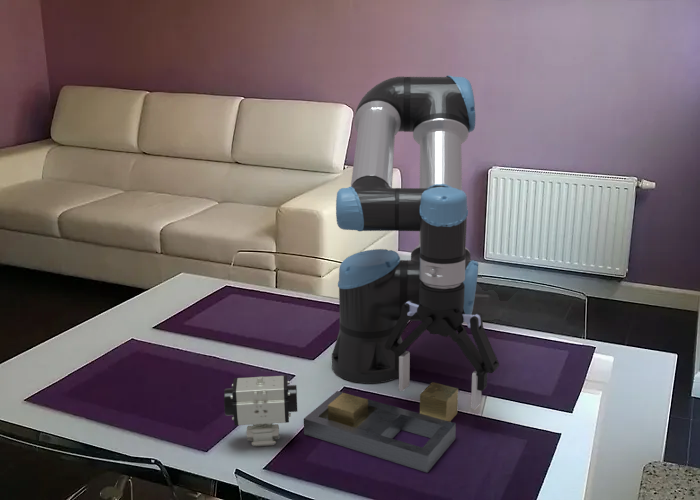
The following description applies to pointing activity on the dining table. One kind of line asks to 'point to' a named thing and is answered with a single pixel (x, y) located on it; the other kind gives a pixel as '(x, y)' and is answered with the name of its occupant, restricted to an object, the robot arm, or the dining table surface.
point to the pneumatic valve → (261, 406)
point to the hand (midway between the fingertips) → (439, 396)
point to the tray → (385, 433)
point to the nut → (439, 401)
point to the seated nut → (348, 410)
